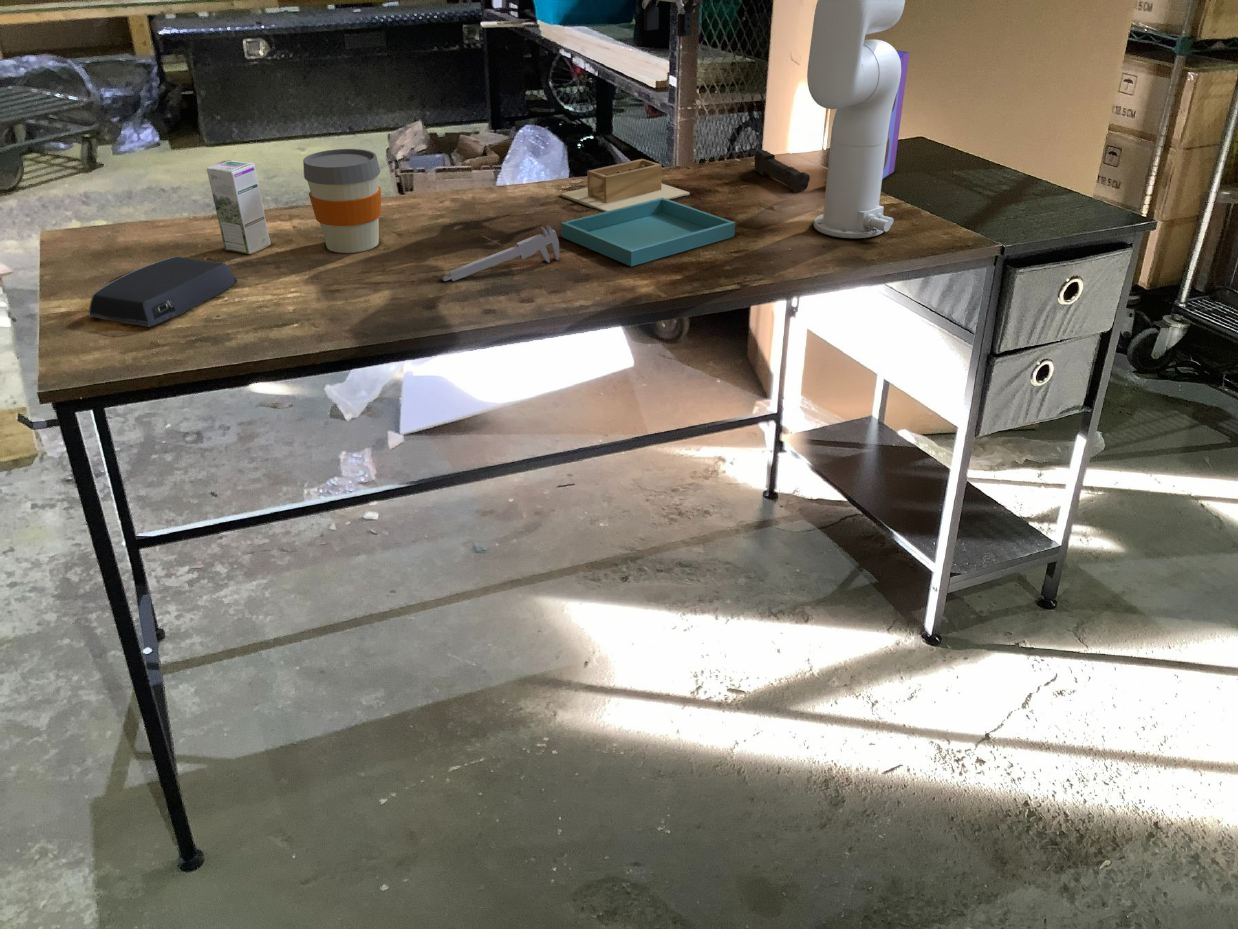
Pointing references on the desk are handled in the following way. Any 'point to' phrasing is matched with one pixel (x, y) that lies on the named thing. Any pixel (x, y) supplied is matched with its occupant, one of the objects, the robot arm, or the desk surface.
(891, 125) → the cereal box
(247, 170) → the syrup box
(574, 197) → the mat
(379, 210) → the reusable coffee cup
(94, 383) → the desk surface
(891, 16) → the robot arm
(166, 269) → the hard drive
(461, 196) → the desk surface
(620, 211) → the teal tray
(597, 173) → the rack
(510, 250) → the caliper
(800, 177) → the hand tool
